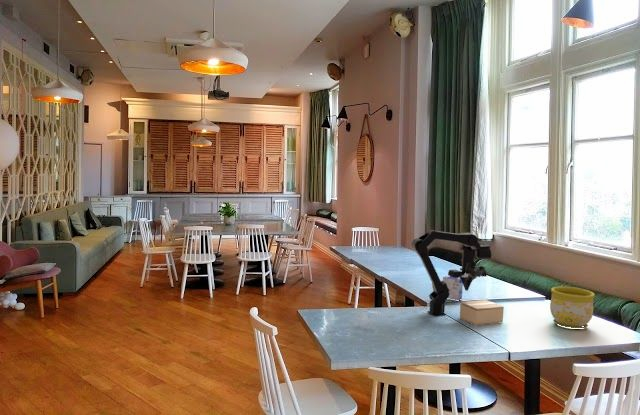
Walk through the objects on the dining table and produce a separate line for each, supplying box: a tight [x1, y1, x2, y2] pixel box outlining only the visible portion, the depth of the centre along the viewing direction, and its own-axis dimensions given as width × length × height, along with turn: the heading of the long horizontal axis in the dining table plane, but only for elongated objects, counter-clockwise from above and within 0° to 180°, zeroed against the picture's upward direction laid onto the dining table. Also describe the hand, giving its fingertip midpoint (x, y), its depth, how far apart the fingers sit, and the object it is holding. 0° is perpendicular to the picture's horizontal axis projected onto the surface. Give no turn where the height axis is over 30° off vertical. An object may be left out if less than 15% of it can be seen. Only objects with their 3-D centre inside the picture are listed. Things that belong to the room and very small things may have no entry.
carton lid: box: [459, 299, 504, 310], centre depth 234 cm, size 16×12×1 cm
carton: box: [459, 303, 505, 326], centre depth 234 cm, size 16×12×7 cm
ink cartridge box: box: [442, 275, 464, 300], centre depth 270 cm, size 10×6×14 cm, turn 53°
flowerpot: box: [549, 286, 596, 329], centre depth 229 cm, size 18×18×16 cm
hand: (466, 290), depth 243 cm, fingers closed
